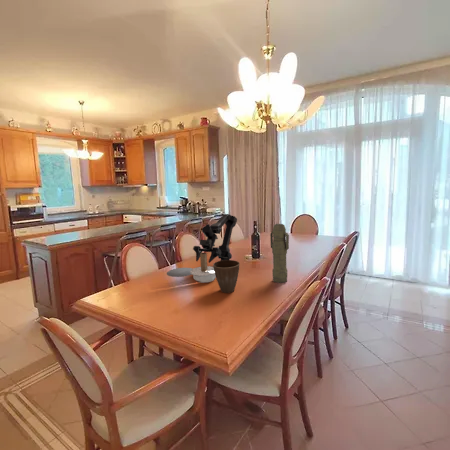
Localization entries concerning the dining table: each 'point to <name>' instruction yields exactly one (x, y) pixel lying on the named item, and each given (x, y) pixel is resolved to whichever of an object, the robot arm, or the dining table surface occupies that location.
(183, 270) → the mat
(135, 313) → the dining table surface
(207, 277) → the bowl
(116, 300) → the dining table surface
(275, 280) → the stone statue
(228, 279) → the plant pot
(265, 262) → the dining table surface
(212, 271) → the lid
